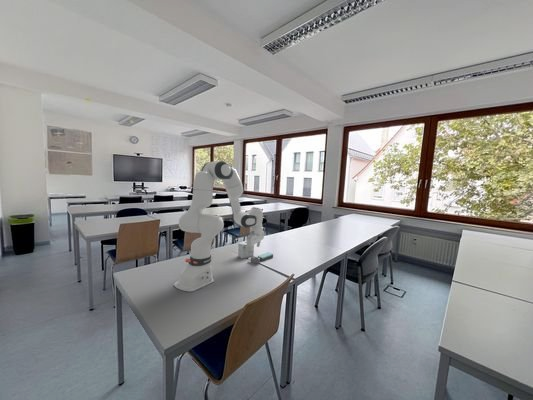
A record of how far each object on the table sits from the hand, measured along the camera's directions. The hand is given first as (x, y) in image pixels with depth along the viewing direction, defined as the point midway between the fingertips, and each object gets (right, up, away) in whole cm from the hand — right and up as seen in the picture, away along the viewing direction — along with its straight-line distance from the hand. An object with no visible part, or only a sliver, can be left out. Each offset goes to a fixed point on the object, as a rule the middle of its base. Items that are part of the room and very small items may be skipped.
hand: (255, 248), depth 160 cm
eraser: (+7, -10, +10) cm, 16 cm away
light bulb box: (-8, -9, +13) cm, 17 cm away
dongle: (-1, -10, +1) cm, 10 cm away
